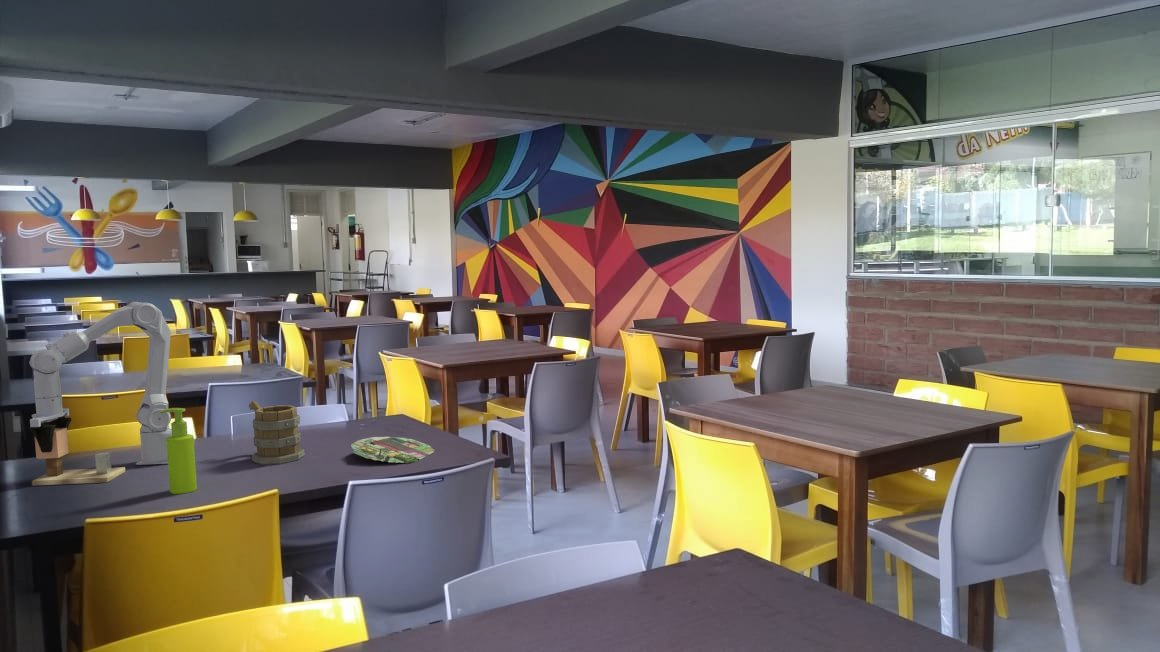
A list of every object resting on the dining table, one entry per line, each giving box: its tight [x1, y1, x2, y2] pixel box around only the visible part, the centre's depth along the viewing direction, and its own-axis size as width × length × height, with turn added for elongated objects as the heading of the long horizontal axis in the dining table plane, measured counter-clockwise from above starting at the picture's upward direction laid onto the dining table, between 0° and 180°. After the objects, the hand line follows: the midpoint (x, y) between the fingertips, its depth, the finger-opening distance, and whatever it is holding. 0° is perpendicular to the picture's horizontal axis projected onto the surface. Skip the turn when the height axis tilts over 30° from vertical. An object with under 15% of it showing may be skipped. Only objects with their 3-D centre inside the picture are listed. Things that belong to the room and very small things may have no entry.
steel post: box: [94, 451, 113, 474], centre depth 214 cm, size 3×3×5 cm
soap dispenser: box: [160, 407, 198, 495], centre depth 199 cm, size 6×7×20 cm
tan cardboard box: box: [34, 428, 70, 460], centre depth 212 cm, size 5×5×7 cm
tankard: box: [248, 400, 306, 465], centre depth 232 cm, size 20×13×15 cm, turn 47°
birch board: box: [31, 466, 126, 487], centre depth 213 cm, size 18×10×1 cm, turn 95°
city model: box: [350, 436, 435, 465], centre depth 230 cm, size 25×24×6 cm
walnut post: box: [45, 456, 64, 477], centre depth 213 cm, size 3×3×5 cm
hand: (52, 449), depth 212 cm, fingers closed on tan cardboard box, 5 cm apart
